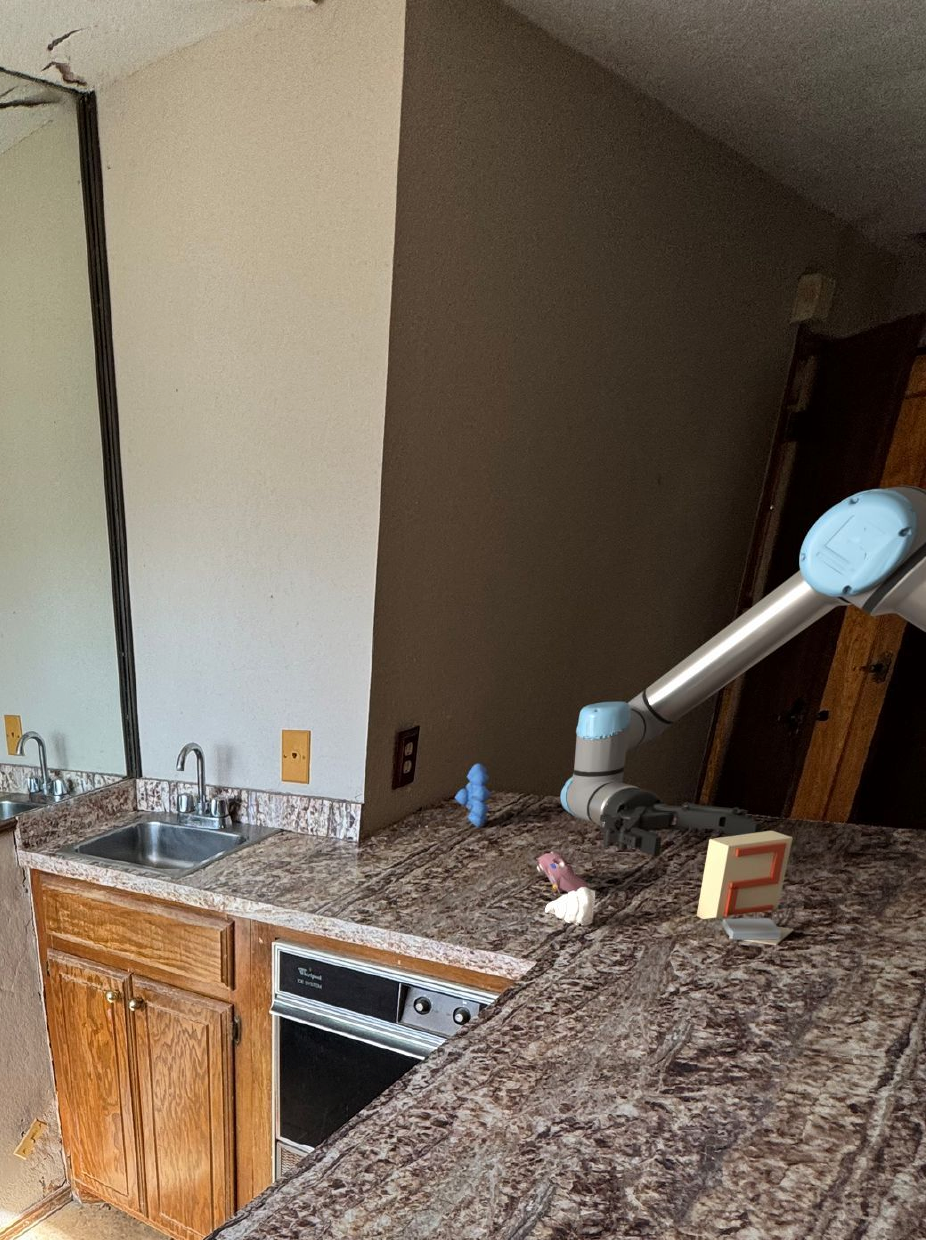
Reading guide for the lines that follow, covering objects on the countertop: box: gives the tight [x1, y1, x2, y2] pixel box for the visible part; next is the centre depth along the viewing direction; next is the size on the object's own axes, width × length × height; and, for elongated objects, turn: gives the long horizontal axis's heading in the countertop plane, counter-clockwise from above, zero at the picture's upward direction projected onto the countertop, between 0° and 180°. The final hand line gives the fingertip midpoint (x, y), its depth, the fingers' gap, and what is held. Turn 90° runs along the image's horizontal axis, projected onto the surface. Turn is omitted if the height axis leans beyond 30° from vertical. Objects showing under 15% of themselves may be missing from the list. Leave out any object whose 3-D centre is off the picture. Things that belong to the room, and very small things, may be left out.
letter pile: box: [721, 917, 795, 946], centre depth 111 cm, size 12×10×3 cm
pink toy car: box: [536, 851, 591, 894], centre depth 140 cm, size 10×5×7 cm, turn 168°
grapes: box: [454, 762, 491, 828], centre depth 178 cm, size 12×7×12 cm, turn 166°
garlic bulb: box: [544, 887, 596, 927], centre depth 127 cm, size 6×6×5 cm
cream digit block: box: [696, 830, 793, 920], centre depth 119 cm, size 8×4×11 cm, turn 89°
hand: (707, 840), depth 126 cm, fingers open, 13 cm apart
